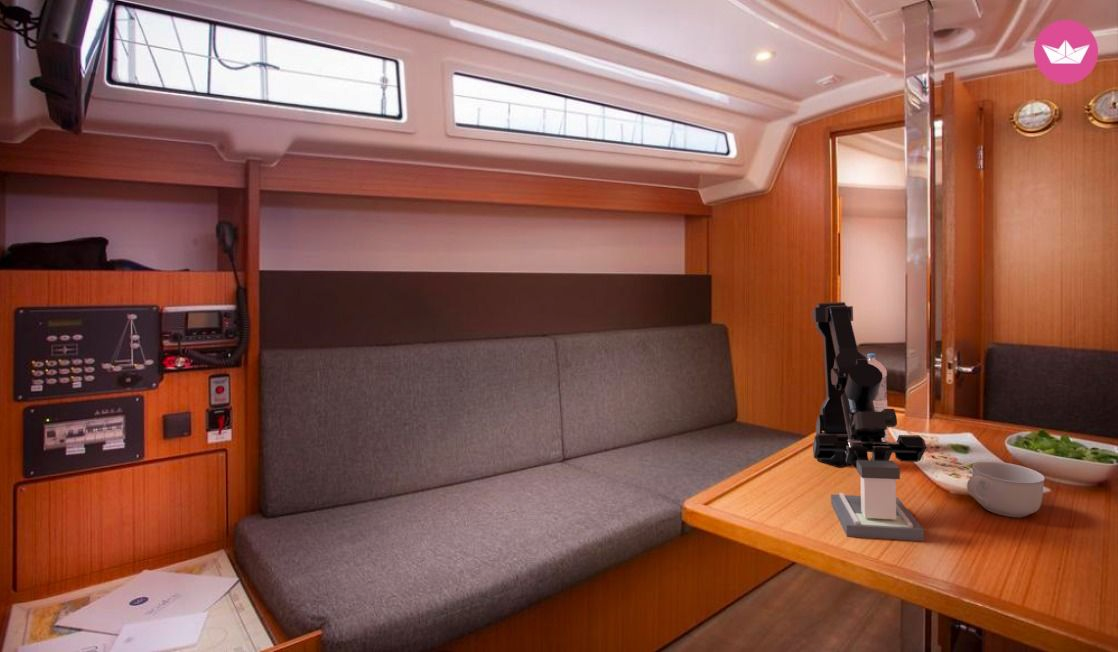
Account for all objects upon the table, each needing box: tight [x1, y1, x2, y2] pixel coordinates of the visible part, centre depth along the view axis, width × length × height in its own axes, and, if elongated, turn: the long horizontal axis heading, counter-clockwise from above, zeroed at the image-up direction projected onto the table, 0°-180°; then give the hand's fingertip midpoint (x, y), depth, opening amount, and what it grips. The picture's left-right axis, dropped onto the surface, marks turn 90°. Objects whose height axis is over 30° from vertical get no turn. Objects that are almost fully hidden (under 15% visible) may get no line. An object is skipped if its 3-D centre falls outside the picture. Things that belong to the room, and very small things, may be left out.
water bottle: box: [866, 353, 889, 442], centre depth 149 cm, size 7×7×25 cm
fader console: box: [830, 492, 925, 542], centre depth 106 cm, size 15×12×3 cm
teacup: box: [966, 460, 1046, 518], centre depth 107 cm, size 14×11×8 cm
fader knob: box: [856, 459, 901, 519], centre depth 103 cm, size 4×6×10 cm, turn 74°
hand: (875, 488), depth 104 cm, fingers closed, pressing on fader knob
